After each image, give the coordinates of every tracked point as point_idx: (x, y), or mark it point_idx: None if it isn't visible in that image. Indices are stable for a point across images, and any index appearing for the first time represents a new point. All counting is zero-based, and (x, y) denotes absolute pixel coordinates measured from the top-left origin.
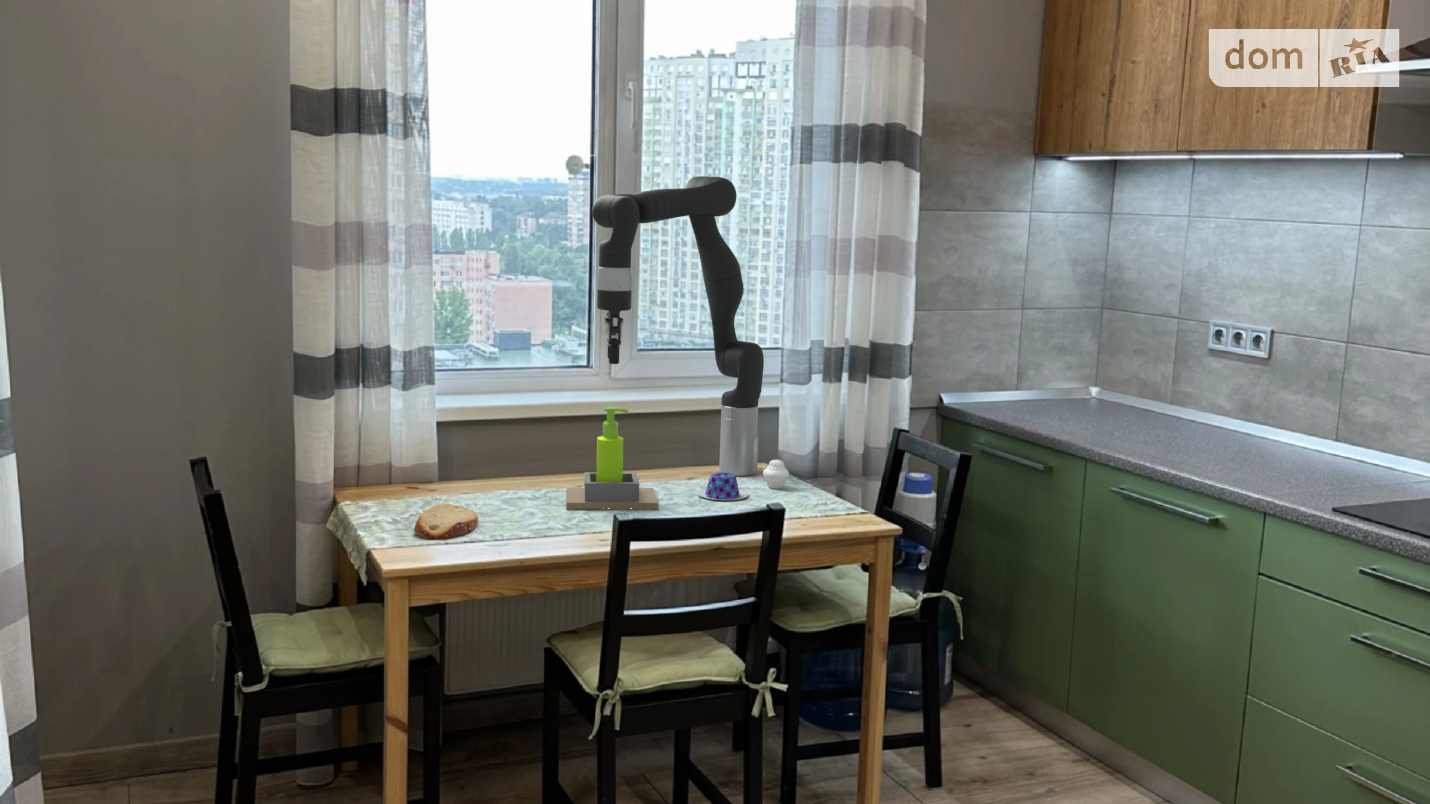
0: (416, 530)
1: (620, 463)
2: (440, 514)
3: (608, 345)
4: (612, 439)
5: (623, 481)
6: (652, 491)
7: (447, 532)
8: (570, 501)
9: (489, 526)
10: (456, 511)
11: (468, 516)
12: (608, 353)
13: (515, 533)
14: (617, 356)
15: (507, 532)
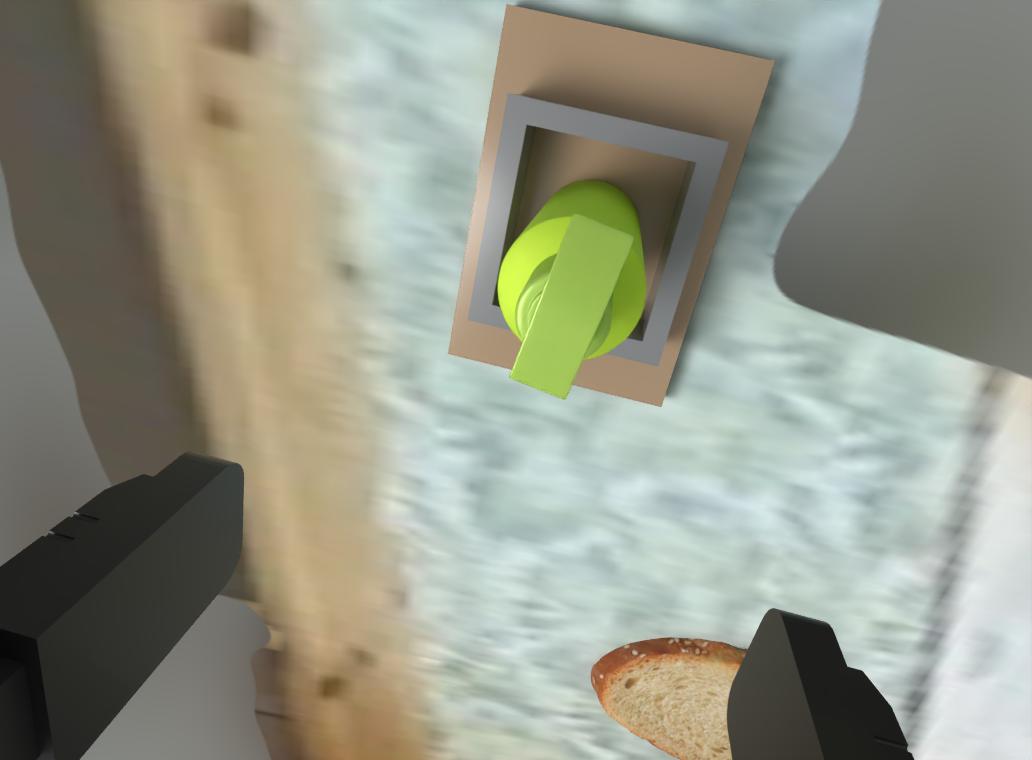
0: None
1: (629, 221)
2: (704, 733)
3: (102, 722)
4: (630, 297)
5: (524, 159)
6: (569, 26)
7: None
8: (646, 390)
9: None
10: (672, 692)
11: None
12: (195, 611)
13: (884, 592)
14: (910, 756)
15: (864, 607)
